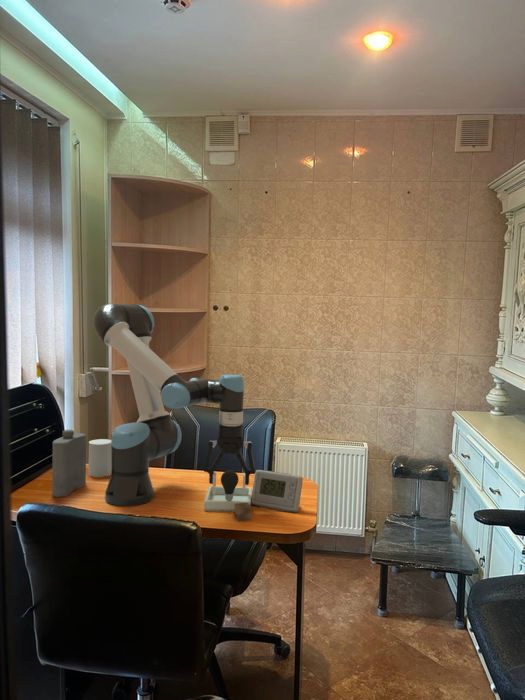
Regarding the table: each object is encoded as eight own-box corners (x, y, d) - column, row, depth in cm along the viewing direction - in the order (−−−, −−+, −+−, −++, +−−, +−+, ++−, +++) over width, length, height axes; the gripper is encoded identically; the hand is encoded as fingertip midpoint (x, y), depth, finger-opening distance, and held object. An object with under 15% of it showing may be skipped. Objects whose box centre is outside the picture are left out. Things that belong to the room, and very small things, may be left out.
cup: (106, 469, 197) (106, 438, 196) (115, 474, 191) (115, 442, 190) (84, 473, 192) (85, 440, 191) (93, 478, 186) (94, 445, 185)
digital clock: (247, 505, 165) (248, 472, 164) (263, 497, 172) (264, 465, 172) (291, 517, 156) (293, 482, 155) (306, 508, 163) (307, 475, 163)
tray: (204, 510, 158) (204, 501, 158) (208, 495, 172) (209, 486, 172) (250, 512, 158) (250, 502, 158) (251, 496, 172) (251, 487, 172)
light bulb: (238, 498, 168) (239, 468, 167) (236, 505, 162) (237, 473, 162) (221, 497, 169) (222, 467, 168) (218, 503, 163) (219, 472, 162)
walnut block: (238, 522, 151) (238, 508, 151) (234, 516, 155) (234, 503, 154) (251, 520, 152) (251, 507, 152) (247, 515, 156) (247, 502, 156)
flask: (73, 482, 181) (73, 425, 180) (88, 483, 180) (89, 426, 179) (46, 496, 167) (46, 434, 165) (62, 498, 165) (63, 436, 164)
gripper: (195, 425, 160) (193, 497, 161) (265, 427, 160) (262, 499, 162) (198, 420, 168) (196, 489, 169) (264, 422, 168) (262, 491, 169)
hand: (228, 494), depth 165 cm, fingers open, 9 cm apart
